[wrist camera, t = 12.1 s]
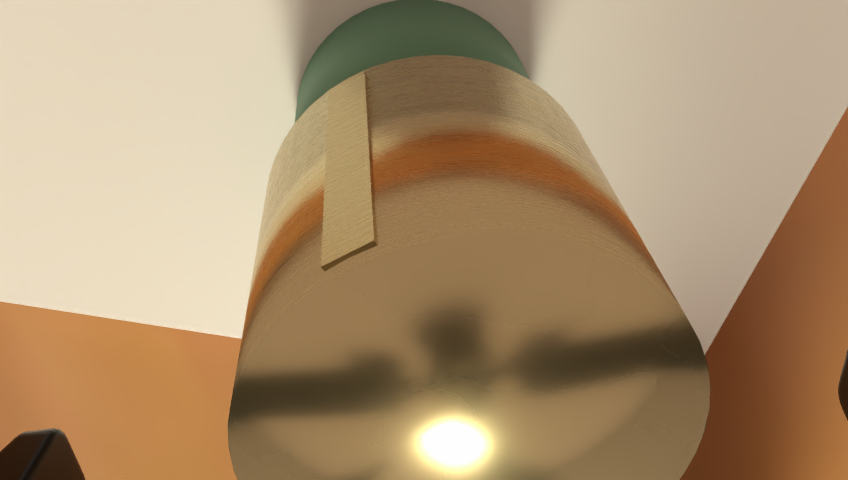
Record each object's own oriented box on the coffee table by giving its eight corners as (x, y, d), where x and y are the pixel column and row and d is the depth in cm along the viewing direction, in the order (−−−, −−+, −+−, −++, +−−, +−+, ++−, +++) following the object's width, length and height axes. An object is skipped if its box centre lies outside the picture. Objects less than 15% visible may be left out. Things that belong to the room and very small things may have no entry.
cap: (372, 386, 15) (383, 638, 11) (193, 157, 12) (117, 378, 8) (641, 262, 14) (765, 488, 10) (511, -16, 11) (609, 135, 7)
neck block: (930, -104, 16) (1136, -43, 12) (663, 380, 23) (736, 529, 18) (-48, -419, 12) (-248, -492, 8) (-33, 268, 19) (-142, 423, 15)
